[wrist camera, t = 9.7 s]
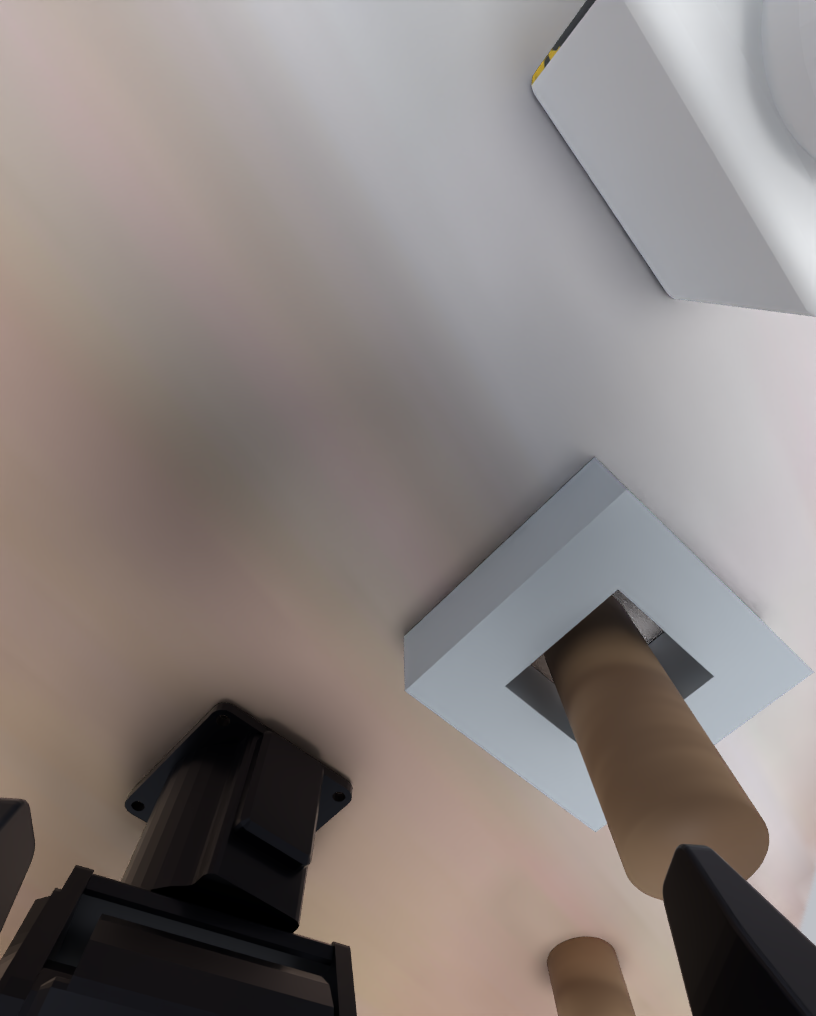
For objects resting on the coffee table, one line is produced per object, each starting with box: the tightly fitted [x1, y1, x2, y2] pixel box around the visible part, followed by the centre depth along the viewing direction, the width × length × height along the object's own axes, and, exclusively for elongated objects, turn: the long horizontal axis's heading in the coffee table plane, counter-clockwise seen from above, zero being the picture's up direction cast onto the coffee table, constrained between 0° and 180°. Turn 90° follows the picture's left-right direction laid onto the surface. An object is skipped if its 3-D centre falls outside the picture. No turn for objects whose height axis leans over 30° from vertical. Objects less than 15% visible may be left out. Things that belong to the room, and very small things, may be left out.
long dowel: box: [543, 595, 769, 900], centre depth 18 cm, size 3×3×9 cm
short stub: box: [547, 937, 636, 1016], centre depth 27 cm, size 3×3×4 cm
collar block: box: [404, 457, 814, 832], centre depth 21 cm, size 9×9×3 cm
